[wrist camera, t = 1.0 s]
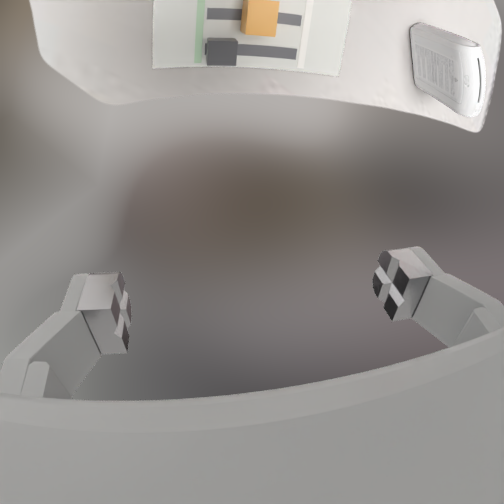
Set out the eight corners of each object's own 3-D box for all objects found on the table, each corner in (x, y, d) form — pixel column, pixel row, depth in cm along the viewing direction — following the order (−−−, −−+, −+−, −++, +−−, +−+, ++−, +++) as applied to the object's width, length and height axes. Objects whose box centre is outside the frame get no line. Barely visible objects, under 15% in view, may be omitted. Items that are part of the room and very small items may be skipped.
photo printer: (435, 85, 38) (490, 121, 29) (412, 89, 38) (467, 126, 29) (430, 21, 30) (493, 44, 22) (405, 23, 31) (468, 44, 22)
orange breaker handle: (270, 1, 27) (279, 1, 24) (267, 32, 30) (275, 37, 27) (243, -2, 26) (248, -2, 24) (240, 31, 29) (245, 34, 26)
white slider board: (349, -18, 27) (367, -18, 23) (334, 73, 36) (348, 83, 33) (157, -36, 23) (151, -41, 20) (153, 66, 32) (149, 74, 29)
